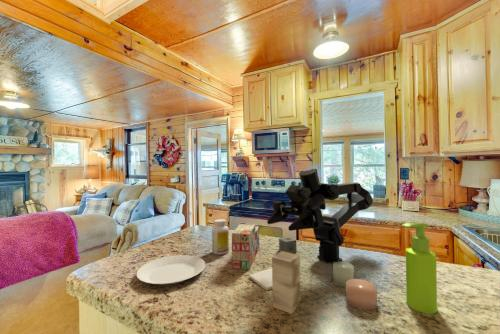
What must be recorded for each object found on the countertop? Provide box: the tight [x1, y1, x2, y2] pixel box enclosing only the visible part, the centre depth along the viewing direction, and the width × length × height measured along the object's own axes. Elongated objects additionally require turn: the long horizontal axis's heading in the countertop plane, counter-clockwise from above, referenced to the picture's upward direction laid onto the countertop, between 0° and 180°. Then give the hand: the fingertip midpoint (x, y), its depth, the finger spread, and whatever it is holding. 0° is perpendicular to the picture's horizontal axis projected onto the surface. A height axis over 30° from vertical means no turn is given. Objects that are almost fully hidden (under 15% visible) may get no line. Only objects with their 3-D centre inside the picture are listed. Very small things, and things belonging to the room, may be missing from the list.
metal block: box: [271, 251, 301, 314], centre depth 56 cm, size 5×5×12 cm
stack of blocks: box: [231, 223, 260, 271], centre depth 87 cm, size 21×6×12 cm, turn 169°
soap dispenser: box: [401, 221, 438, 315], centre depth 55 cm, size 6×7×20 cm
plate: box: [136, 254, 206, 286], centre depth 74 cm, size 21×21×2 cm
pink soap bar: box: [345, 278, 378, 311], centre depth 57 cm, size 7×7×4 cm
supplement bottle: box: [211, 218, 230, 256], centre depth 92 cm, size 7×7×13 cm
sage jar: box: [332, 261, 355, 288], centre depth 67 cm, size 6×6×5 cm
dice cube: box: [278, 236, 297, 254], centre depth 92 cm, size 5×5×5 cm
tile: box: [248, 267, 272, 291], centre depth 69 cm, size 9×9×1 cm
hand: (277, 225), depth 68 cm, fingers open, 9 cm apart
